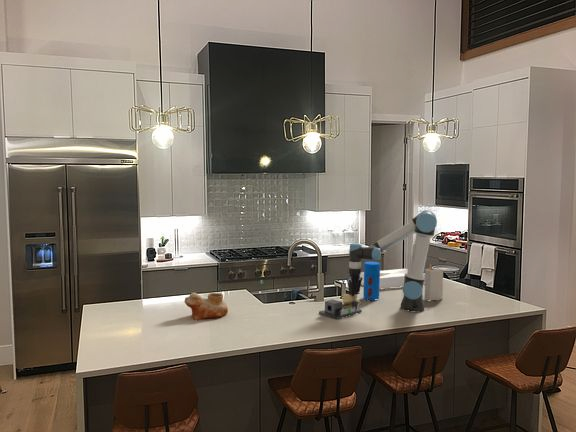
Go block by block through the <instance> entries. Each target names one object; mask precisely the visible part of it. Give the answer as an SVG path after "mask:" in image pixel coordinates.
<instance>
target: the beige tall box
mask: <svg viewBox="0 0 576 432" xmlns="http://www.w3.org/2000/svg"><path fill="white" fill-rule="evenodd" d="M424 274H425V284H424V286H423V287H424V297H423V300H424V299H427V300H436V299H442V300H443V291H444V269H442V268H439V267H437V268H436V269H433V270H432V264H431V263H429V268H424ZM427 300H426V301H427Z"/></svg>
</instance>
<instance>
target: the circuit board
mask: <svg viewBox="0 0 576 432" xmlns="http://www.w3.org/2000/svg"><path fill="white" fill-rule="evenodd" d="M342 303H343V301H340V300H336V299H333V298H332V299H328V300H325V301H324V309H323V310H319V311H318V314H319V315H321V316H324V317H328V318H331V319H334V320H339V318H340V319H343V318H342V317H344V318H347V317H350V316H349V315H351V316H354V315H357V314H356V313H358V314H361V313H360V312H362V313H363V311H362V309H360V308H359V307H360V305H358V306H357V310H356V307H350V308H345V307H342ZM353 314H354V315H353ZM346 316H347V317H346Z"/></svg>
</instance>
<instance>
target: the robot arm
mask: <svg viewBox="0 0 576 432" xmlns="http://www.w3.org/2000/svg"><path fill="white" fill-rule="evenodd" d="M437 225H438V219H437V217H436V215H435V213H434V212H433V211H431V210H423V211H420V212H419V213H418V214H417V215H416V216H414V217H413V218H411V219H410V221H409V222H408V223H406V224H404V225H403V226H401V227H400V228H397V229H396V230H394V231H392V232H390V233H389V234H387V235H385V236H384V237H382V238H381V239H379V240H377V241H376V242H374V243H371V244H370V245H369V246H368V247H367V246H366V247H365V246H363V245H362V243H357V242H352V243H350V244H349V251H348V252H349V253H348V258H349V260H348V262H349V263H348V267H349V268H348V275H349V278H348V279H346V282H347V288H348V294H349V295H353V296H356V300H357V298H358V295H359V294H360V290H361V286H362V285H361V281H362V279H363V278H361V277H360V274H361V271H362V268H361V267H362V260H372V261H379V260H381V256H382V253H383V252H385V251H386V250H388V249H390V248H392V247H393V246H395V245H396V244H399V243H400V242H402V241H404V240H405V239H407V238H409V237H410V236H412V235H414V234H415V239H414V245H413V250H412V256H411V258H410V263H409V269H408V272H407V273H406V274H405V276H404V286H403V288H402V293H403V298H402V299H401V303H400V309H401V308H402V309H404V310H403V311H405V310H409V311H408V312H411V311H420V312H423V311H422V310H424V309H426V308H425V304H424V298H423V292H424V290H423V289H424V286H423V285H424V280H425V278H424V277H423V274H424V273H425V267H426V264H427V263H426V262H427V258H428V257H427V256H428V251H429V248H430V243H431V238H433V237H435V232H436V228H437ZM402 309H401V310H402ZM424 311H425V310H424Z"/></svg>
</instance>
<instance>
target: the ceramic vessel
mask: <svg viewBox="0 0 576 432" xmlns="http://www.w3.org/2000/svg"><path fill="white" fill-rule="evenodd" d="M223 298H224V294H222V293H217V292H209V293H208V294H207V298H204V297H202V296H201V295H200V294H198V293H197V292H191V293H190V294H189V295H188V296H186V297H185V298H184V304H185V305H186V306H187V307H189V308H190V309H191V318H192V319H193V320H194V321H201V320H212V319H213V320H215V319H217V320H218V319H221V318H223V317H225V316H227V315H228V312H229V308H228V305H227V304H226V302H224V301H223Z"/></svg>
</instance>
